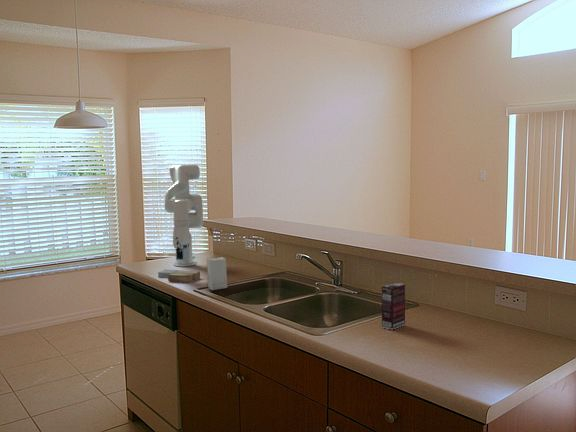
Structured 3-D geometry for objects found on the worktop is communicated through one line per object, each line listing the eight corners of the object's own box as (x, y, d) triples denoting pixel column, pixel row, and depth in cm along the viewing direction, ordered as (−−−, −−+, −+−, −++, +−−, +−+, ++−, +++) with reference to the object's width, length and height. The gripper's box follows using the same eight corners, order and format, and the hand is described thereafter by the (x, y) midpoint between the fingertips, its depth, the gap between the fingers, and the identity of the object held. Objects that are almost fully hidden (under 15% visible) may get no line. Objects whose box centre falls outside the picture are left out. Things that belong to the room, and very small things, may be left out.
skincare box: (223, 286, 262) (222, 256, 261) (227, 288, 257) (227, 258, 255) (207, 287, 259) (206, 258, 257) (211, 290, 253) (210, 260, 252)
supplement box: (394, 323, 200) (395, 281, 198) (405, 325, 196) (406, 284, 194) (380, 328, 194) (381, 285, 192) (391, 331, 190) (392, 288, 189)
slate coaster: (165, 274, 292) (165, 269, 292) (178, 275, 290) (178, 270, 290) (158, 277, 284) (158, 272, 284) (171, 278, 282) (171, 273, 282)
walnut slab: (180, 277, 285) (179, 270, 284) (199, 278, 281) (199, 271, 280) (168, 282, 273) (168, 274, 273) (188, 283, 269) (188, 276, 269)
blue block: (180, 258, 279) (180, 247, 279) (189, 258, 278) (188, 247, 277) (175, 260, 275) (175, 248, 274) (184, 260, 273) (184, 249, 272)
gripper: (183, 221, 284) (184, 255, 285) (166, 225, 268) (167, 260, 269) (195, 222, 281) (196, 255, 283) (179, 225, 265) (180, 261, 267)
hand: (182, 257), depth 276 cm, fingers closed on blue block, 5 cm apart
